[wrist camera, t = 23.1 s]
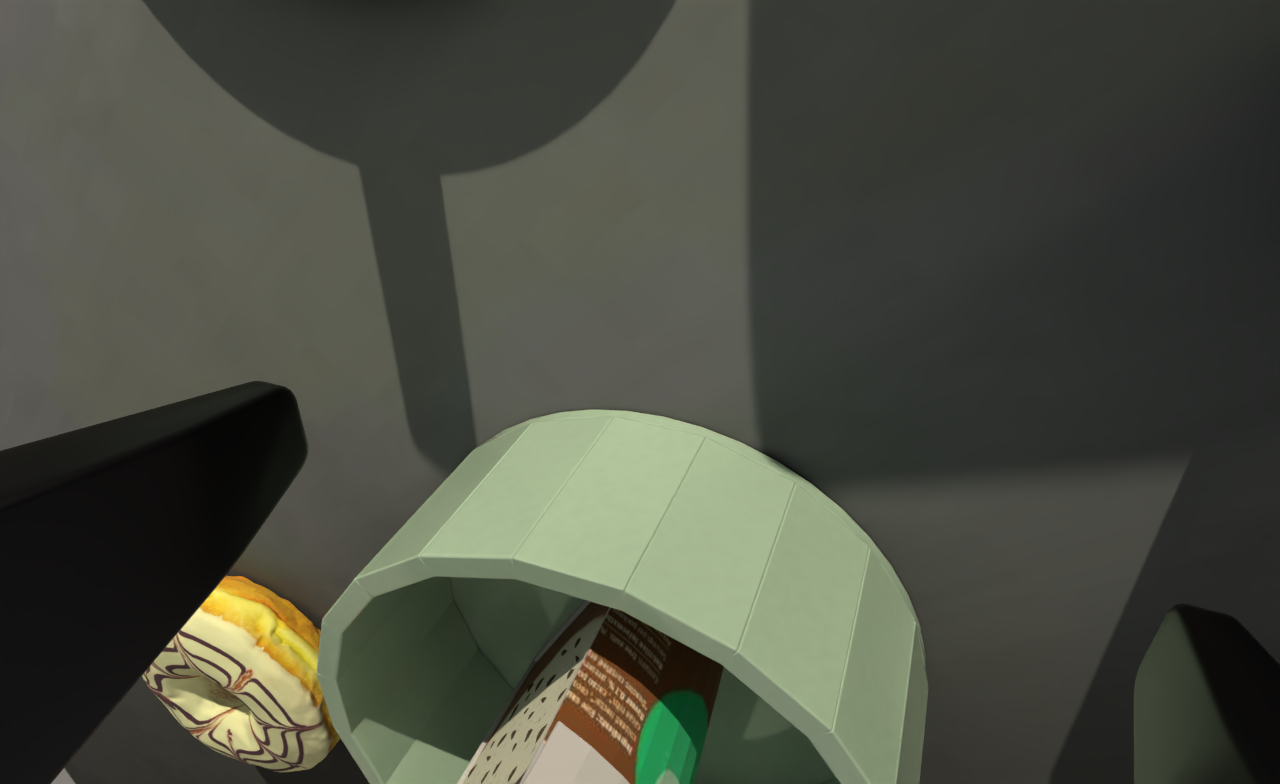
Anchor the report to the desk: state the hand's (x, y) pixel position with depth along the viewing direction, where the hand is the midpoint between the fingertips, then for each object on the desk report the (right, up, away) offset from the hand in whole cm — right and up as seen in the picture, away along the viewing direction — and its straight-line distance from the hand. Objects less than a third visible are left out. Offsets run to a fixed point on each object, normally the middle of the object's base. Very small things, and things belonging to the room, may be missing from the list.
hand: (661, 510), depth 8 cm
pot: (0, -7, +19) cm, 20 cm away
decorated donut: (-17, -10, +30) cm, 36 cm away
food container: (+1, -7, +19) cm, 21 cm away
